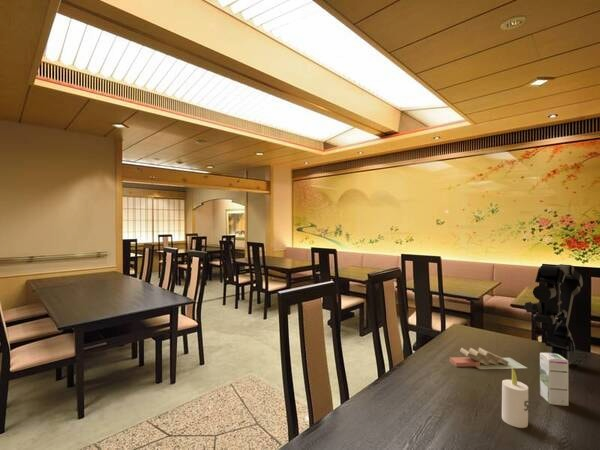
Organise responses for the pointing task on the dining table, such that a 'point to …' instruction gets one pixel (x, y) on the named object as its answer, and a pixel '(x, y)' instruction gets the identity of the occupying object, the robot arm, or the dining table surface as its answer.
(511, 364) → the mat
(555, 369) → the syrup box
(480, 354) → the domino
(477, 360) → the domino
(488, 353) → the domino
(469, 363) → the domino
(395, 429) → the dining table surface
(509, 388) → the candle
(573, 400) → the dining table surface
